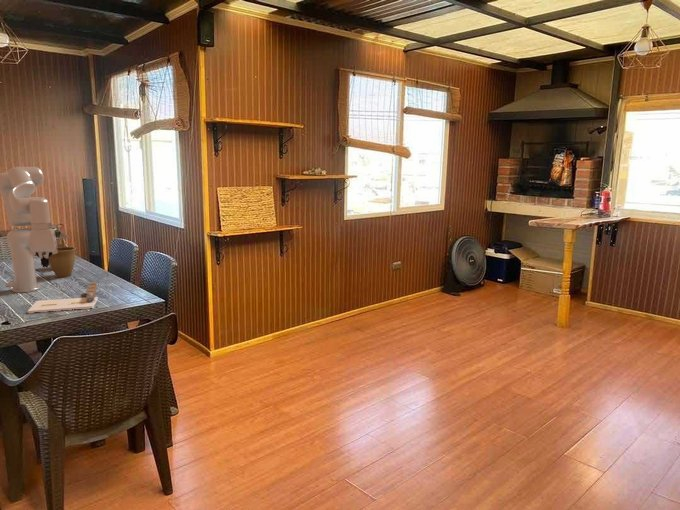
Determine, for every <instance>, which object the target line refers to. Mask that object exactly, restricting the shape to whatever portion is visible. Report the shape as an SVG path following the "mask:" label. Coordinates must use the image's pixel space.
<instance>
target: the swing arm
mask: <svg viewBox="0 0 680 510" xmlns="http://www.w3.org/2000/svg"><path fill="white" fill-rule="evenodd" d="M97 285H98V284H97V282H89V283H88V288H87V291H86V294H85V295H86V297H87V301H93V300H94V298H95V297H96V294H97V290H98V286H97ZM86 297H85V298H86Z"/></svg>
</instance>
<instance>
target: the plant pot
mask: <svg viewBox="0 0 680 510" xmlns="http://www.w3.org/2000/svg"><path fill="white" fill-rule="evenodd" d="M76 250H77V247H75V246H59V247H58V246H57V251H58V253H56V254H52V255H51V256H50V257H49V262H50V265H51V267H52V268H51V267H50V268H51V269H52V271H53V273H54V275H55V277H56V278H68V276H69V277H71V276H72V272H73V270H74V266H75V261H76Z"/></svg>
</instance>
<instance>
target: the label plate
mask: <svg viewBox="0 0 680 510" xmlns="http://www.w3.org/2000/svg"><path fill="white" fill-rule="evenodd" d="M98 299H99V298H98V296H95V298H94V300H93V301H87V297H74V298H60V299H59V298H57V299H46V300H36V301H35V302H34V303H33V304H32V305H31V306H30V308H29V309H28V310H27V314H28V313H29V314H35V313H34V312H43V313H48V312H47V311H56V312H62V311H61V310H69V311H75V310H74V309H82V310H91V309H90V308H93V309H94V307H95V306H96V303H97V301H98ZM72 309H73V310H72Z"/></svg>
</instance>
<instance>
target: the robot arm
mask: <svg viewBox="0 0 680 510" xmlns="http://www.w3.org/2000/svg"><path fill="white" fill-rule="evenodd" d="M44 178H45V177H44V173H43V171H42V170H41V168H39V167H38V166H14V167H11V168H10V169H9V170H8V171H6V172H1V173H0V195H1V197H2V198H3V199H2V200H3V202H4V206H5V207H4V208H5V213H6V218H7V221H8V222H7V223H8V224H9V226H11V227H25V226H26V227H29V226H31V227H29V228H18V229H12V230H10V231H9V232H8V233H7V234H6V239H7V243H8V245H9V249H10V255H11V261H12V269H13V279H14V281H12V282H5V287H6V288H12V289H11V291H12V292H13V293H31V292H35V291H39V290H40V289H42V286H41V285H40V284H38V281H37V272H36V271H37V270H36V265H35V264H36V263H35V256H37V257H38V258H39V259H40V264H41V266H42V268H48V267H49V264H50V263H49V257H50V256H51V255H52V254H56V253H58V251H57V247H58V242H57V237H56V233H55V230H54V227H55V226H56V225H55V223H52V222H51V220H52V219H51V213H50V212H51V211H50V204H49V203H50V202H49V201H48V199H47V198H45V197H43V196H42V197H41V196H35V197H33V196H32V195H33V194H34V193H35V192H36V190H37V188H39V187H40V186H41V185H42V184H43V182H44V180H45V179H44ZM30 196H31V197H30ZM28 248H29V249H28ZM44 253H45V256H44Z"/></svg>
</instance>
